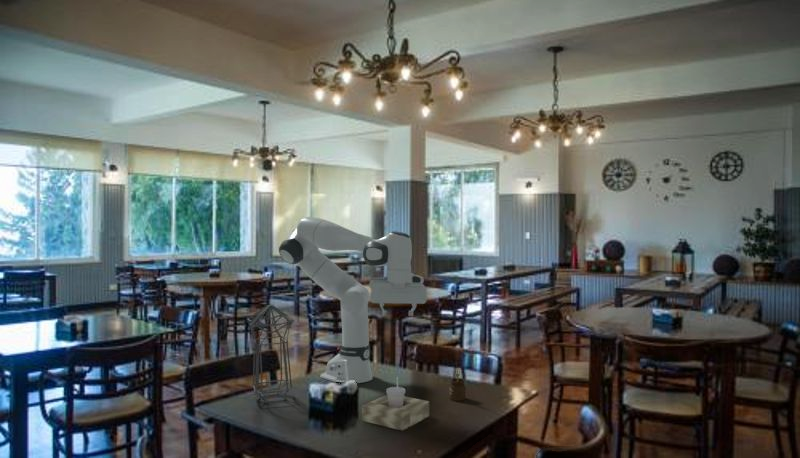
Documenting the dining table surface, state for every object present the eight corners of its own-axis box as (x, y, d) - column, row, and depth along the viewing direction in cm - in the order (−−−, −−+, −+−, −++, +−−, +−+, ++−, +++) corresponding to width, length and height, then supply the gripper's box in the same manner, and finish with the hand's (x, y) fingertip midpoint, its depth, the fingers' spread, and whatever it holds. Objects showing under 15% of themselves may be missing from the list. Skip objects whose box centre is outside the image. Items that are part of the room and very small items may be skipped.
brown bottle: (465, 396, 209) (465, 364, 209) (465, 401, 203) (465, 368, 203) (449, 396, 210) (449, 364, 210) (449, 401, 204) (449, 368, 204)
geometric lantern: (297, 402, 202) (295, 306, 201) (252, 409, 197) (250, 310, 196) (289, 390, 217) (287, 300, 216) (247, 395, 211) (245, 303, 210)
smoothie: (402, 422, 182) (402, 379, 182) (383, 420, 183) (383, 378, 183) (407, 416, 188) (407, 374, 188) (389, 414, 190) (389, 373, 189)
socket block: (362, 420, 183) (362, 405, 183) (390, 407, 197) (390, 393, 197) (402, 430, 174) (402, 414, 174) (429, 416, 188) (429, 401, 188)
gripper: (370, 277, 196) (369, 317, 196) (428, 278, 198) (426, 317, 198) (369, 275, 202) (368, 314, 202) (425, 276, 204) (424, 314, 204)
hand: (397, 315), depth 200 cm, fingers open, 8 cm apart
